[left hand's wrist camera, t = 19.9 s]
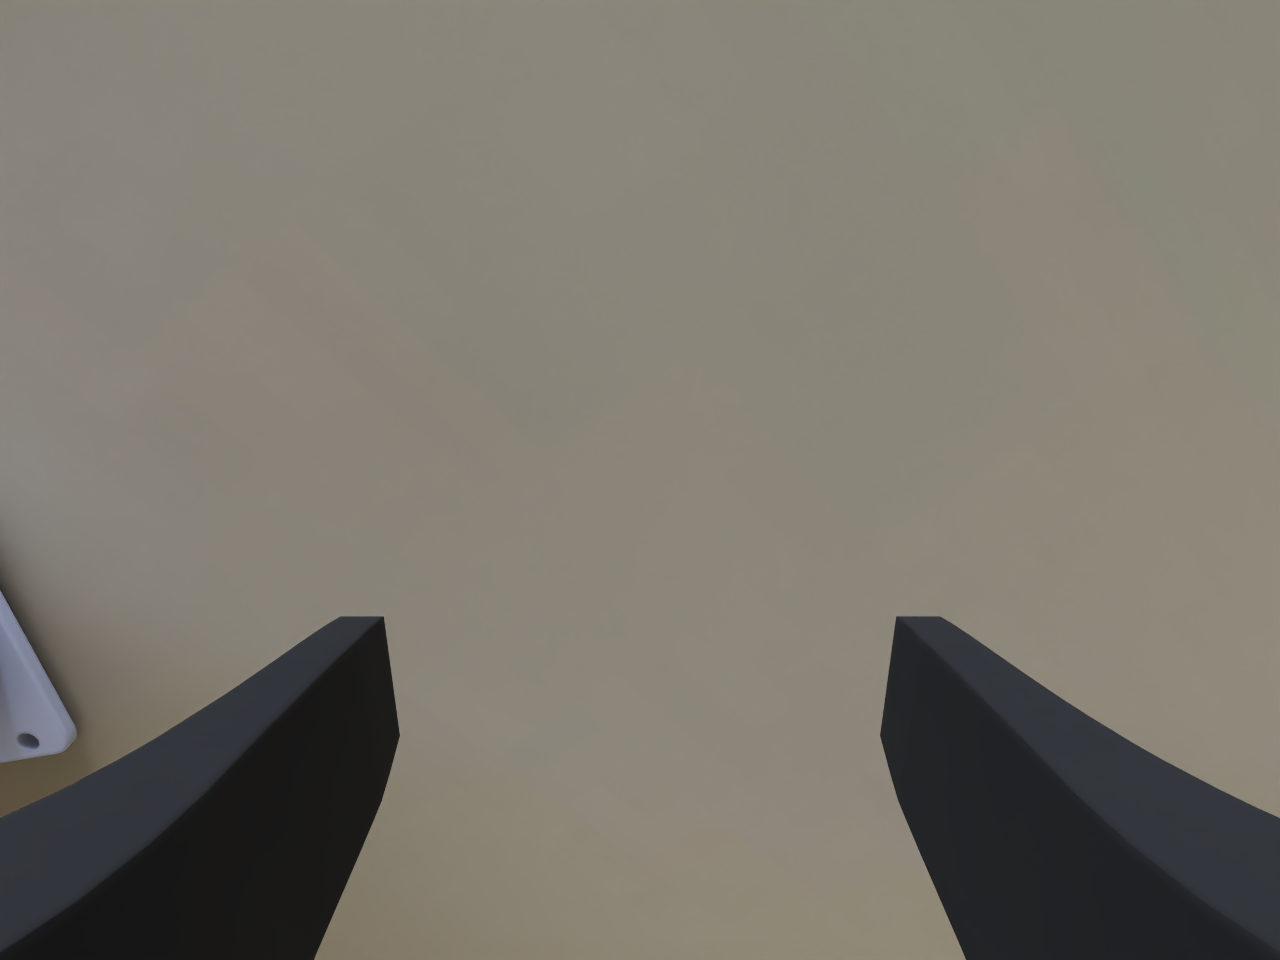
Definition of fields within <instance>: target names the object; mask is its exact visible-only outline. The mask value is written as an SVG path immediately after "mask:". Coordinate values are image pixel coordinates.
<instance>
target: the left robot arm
mask: <svg viewBox="0 0 1280 960" xmlns="http://www.w3.org/2000/svg"><path fill="white" fill-rule="evenodd" d="M32 735H33V736H35V737H36V738H37V739H36V738H34V737H33V736H32ZM399 736H400V734H399V726H398V719H397V711H396V704H395V697H394V689H393V682H392V675H391V667H390V660H389V652H388V645H387V638H386V630H385V623H384V617H339V618H337V619H335V620H334V621H332V622H330V623H329V624H327V625H326V626H324V627H322V628H321V629H319V630H318V631H316V632H315V633H313V634H312V635H311V636H309V637H308V638H306V639H305V640H303V641H302V642H300V643H299V644H298V645H296V646H295V647H293V648H292V649H290V650H289V651H288V652H286V653H285V654H283V655H282V656H280V657H279V658H278V659H276V660H275V661H273V662H272V663H270V664H269V665H267V666H266V667H265V668H263V669H262V670H260V671H259V672H257V673H256V674H254V675H253V676H251V677H250V678H249V679H247V680H246V681H244V682H243V683H241V684H240V685H238V686H237V687H236V688H234V689H233V690H231V691H230V692H228V693H227V694H225V695H224V696H222V697H220V698H219V699H217V700H216V701H214V702H213V703H211V704H209V705H208V706H206V707H205V708H203V709H201V710H200V711H198V712H197V713H195V714H194V715H192V716H190V717H189V718H187V719H186V720H184V721H183V722H181V723H179V724H178V725H176V726H175V727H173V728H171V729H170V730H168V731H167V732H165V733H164V734H162V735H160V736H159V737H157V738H155V739H154V740H152V741H150V742H149V743H147V744H145V745H144V746H142V747H140V748H138V749H137V750H135V751H133V752H131V753H129V754H128V755H126V756H124V757H122V758H121V759H119V760H117V761H115V762H113V763H111V764H110V765H108V766H106V767H104V768H102V769H100V770H98V771H96V772H94V773H93V774H91V775H89V776H87V777H85V778H83V779H81V780H79V781H77V782H76V783H74V784H72V785H70V786H68V787H66V788H64V789H62V790H60V791H58V792H56V793H54V794H52V795H49V796H47V797H45V798H43V799H41V800H39V801H36V802H34V803H32V804H30V805H28V806H26V807H23V808H21V809H19V810H17V811H15V812H13V813H10V814H8V815H6V816H4V817H2V818H0V960H314V958H315V955H316V953H317V951H318V948H319V946H320V944H321V941H322V939H323V937H324V935H325V932H326V930H327V928H328V925H329V923H330V921H331V918H332V916H333V914H334V911H335V909H336V907H337V904H338V902H339V900H340V898H341V895H342V893H343V891H344V888H345V886H346V884H347V881H348V879H349V877H350V874H351V872H352V870H353V867H354V865H355V863H356V861H357V858H358V856H359V854H360V851H361V849H362V847H363V844H364V842H365V839H366V837H367V835H368V832H369V830H370V828H371V825H372V823H373V821H374V818H375V816H376V813H377V811H378V808H379V806H380V803H381V801H382V798H383V794H384V791H385V788H386V784H387V781H388V777H389V774H390V770H391V767H392V763H393V759H394V755H395V752H396V748H397V744H398V740H399ZM880 736H881V740H882V744H883V748H884V752H885V755H886V759H887V763H888V767H889V770H890V774H891V777H892V781H893V784H894V788H895V791H896V794H897V798H898V801H899V803H900V806H901V808H902V811H903V813H904V816H905V818H906V821H907V823H908V825H909V828H910V830H911V832H912V835H913V837H914V839H915V842H916V844H917V847H918V849H919V851H920V854H921V856H922V858H923V861H924V863H925V865H926V867H927V870H928V872H929V874H930V877H931V879H932V881H933V884H934V886H935V888H936V891H937V893H938V895H939V898H940V900H941V902H942V904H943V907H944V909H945V911H946V914H947V916H948V918H949V921H950V923H951V925H952V928H953V930H954V932H955V935H956V937H957V939H958V941H959V944H960V946H961V948H962V951H963V953H964V955H965V958H966V960H1280V818H1278V817H1276V816H1274V815H1272V814H1269V813H1267V812H1265V811H1263V810H1260V809H1258V808H1256V807H1254V806H1252V805H1250V804H1248V803H1246V802H1244V801H1242V800H1239V799H1237V798H1235V797H1233V796H1231V795H1229V794H1227V793H1225V792H1223V791H1221V790H1219V789H1217V788H1215V787H1213V786H1211V785H1209V784H1208V783H1206V782H1204V781H1202V780H1200V779H1198V778H1196V777H1194V776H1192V775H1190V774H1188V773H1187V772H1185V771H1183V770H1181V769H1179V768H1177V767H1175V766H1173V765H1171V764H1169V763H1167V762H1166V761H1164V760H1162V759H1160V758H1158V757H1157V756H1155V755H1153V754H1151V753H1149V752H1148V751H1146V750H1144V749H1142V748H1141V747H1139V746H1137V745H1135V744H1134V743H1132V742H1130V741H1129V740H1127V739H1125V738H1124V737H1122V736H1120V735H1119V734H1117V733H1116V732H1114V731H1112V730H1111V729H1109V728H1107V727H1106V726H1104V725H1102V724H1101V723H1099V722H1098V721H1096V720H1094V719H1093V718H1091V717H1089V716H1088V715H1086V714H1085V713H1083V712H1082V711H1080V710H1078V709H1077V708H1075V707H1074V706H1072V705H1071V704H1069V703H1068V702H1066V701H1064V700H1063V699H1061V698H1060V697H1058V696H1057V695H1055V694H1054V693H1052V692H1051V691H1049V690H1048V689H1046V688H1045V687H1044V686H1042V685H1041V684H1039V683H1038V682H1036V681H1035V680H1033V679H1032V678H1030V677H1029V676H1027V675H1026V674H1024V673H1023V672H1022V671H1020V670H1019V669H1017V668H1016V667H1014V666H1013V665H1012V664H1010V663H1009V662H1007V661H1006V660H1004V659H1003V658H1002V657H1000V656H999V655H997V654H996V653H994V652H993V651H992V650H990V649H989V648H987V647H986V646H984V645H983V644H981V643H980V642H979V641H977V640H976V639H974V638H973V637H971V636H970V635H968V634H967V633H965V632H964V631H962V630H961V629H959V628H958V627H956V626H955V625H953V624H952V623H950V622H948V621H947V620H945V619H943V618H942V617H896V623H895V630H894V638H893V645H892V652H891V660H890V667H889V675H888V682H887V689H886V697H885V704H884V711H883V719H882V726H881V734H880ZM76 737H77V730H76V727H75V725H74V723H73V721H72V719H71V718H70V716H69V714H68V712H67V710H66V709H65V707H64V705H63V703H62V701H61V700H60V698H59V696H58V694H57V692H56V690H55V689H54V687H53V685H52V683H51V681H50V680H49V678H48V676H47V674H46V672H45V670H44V669H43V667H42V665H41V663H40V661H39V660H38V658H37V656H36V654H35V652H34V651H33V649H32V647H31V645H30V643H29V641H28V640H27V638H26V636H25V634H24V632H23V631H22V629H21V627H20V625H19V623H18V621H17V620H16V618H15V616H14V614H13V612H12V611H11V609H10V607H9V605H8V603H7V602H6V600H5V598H4V596H3V594H2V592H1V591H0V763H3V762H10V761H16V760H22V759H28V758H34V757H41V756H47V755H53V754H58V753H61V752H64V751H65V750H66V749H67V748H68V747H69V746H70V745H71V744H72V743H73V742H74V741H75V740H76Z"/></svg>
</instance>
